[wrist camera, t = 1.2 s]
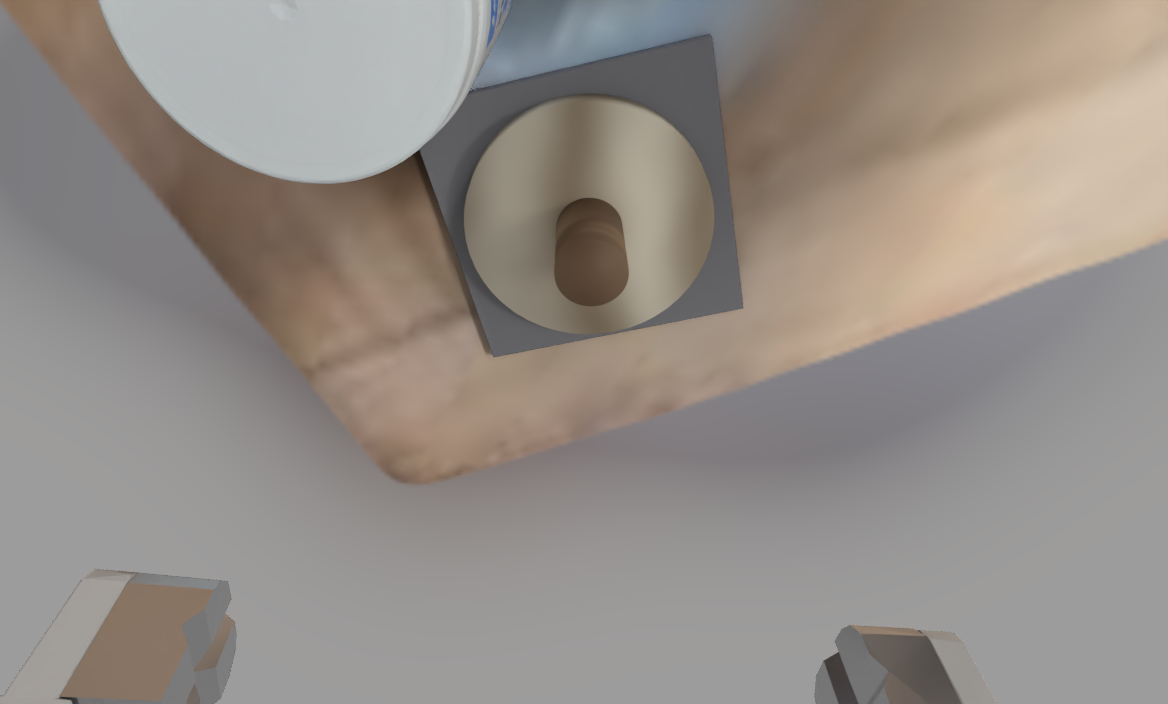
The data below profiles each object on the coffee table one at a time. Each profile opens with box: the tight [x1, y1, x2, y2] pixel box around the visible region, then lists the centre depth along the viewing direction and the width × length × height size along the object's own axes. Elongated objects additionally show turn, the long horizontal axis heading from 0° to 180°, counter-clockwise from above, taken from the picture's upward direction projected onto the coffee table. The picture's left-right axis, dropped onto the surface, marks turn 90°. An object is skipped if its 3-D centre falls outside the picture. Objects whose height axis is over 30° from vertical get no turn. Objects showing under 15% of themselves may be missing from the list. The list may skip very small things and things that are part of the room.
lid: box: [464, 93, 714, 334], centre depth 34 cm, size 12×12×6 cm
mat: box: [419, 34, 743, 357], centre depth 36 cm, size 14×14×1 cm
